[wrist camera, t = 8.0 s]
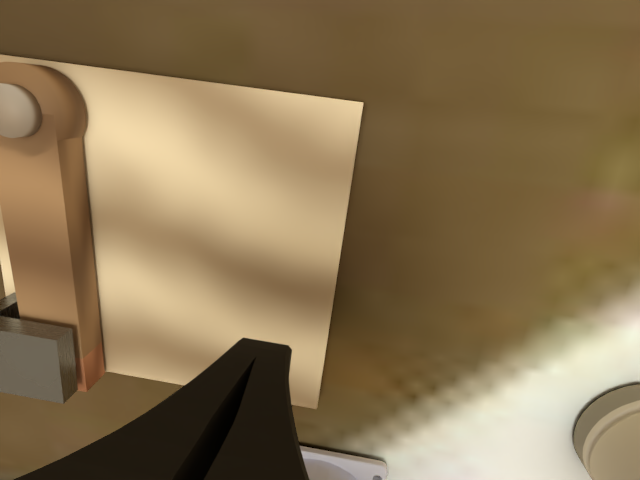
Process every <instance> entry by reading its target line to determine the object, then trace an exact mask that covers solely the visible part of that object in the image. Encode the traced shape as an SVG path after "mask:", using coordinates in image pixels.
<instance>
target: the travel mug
mask: <svg viewBox="0 0 640 480" xmlns="http://www.w3.org/2000/svg"><path fill="white" fill-rule="evenodd" d="M574 446H575V450H576V453H577V454H578V456H579V458H580V460H581V462H582V463H583V465H584V467H585V468H586V470H587V472H588V473H589V475H590V477H591V478H592V479H593V480H640V384H638V385H632V386H627V387H622V388H620V389H617V390H614V391H611V392H609V393H607V394H605V395H604V396H602V397H600V398H598V399H597V400H596V401H594V402H593V403H592V404H591V405H589V407H588V408H587V409H586V410H585V411H584V412H583V413H582V415H581V417H580V418H579V420H578V422H577V424H576V428H575V431H574Z"/></svg>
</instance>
